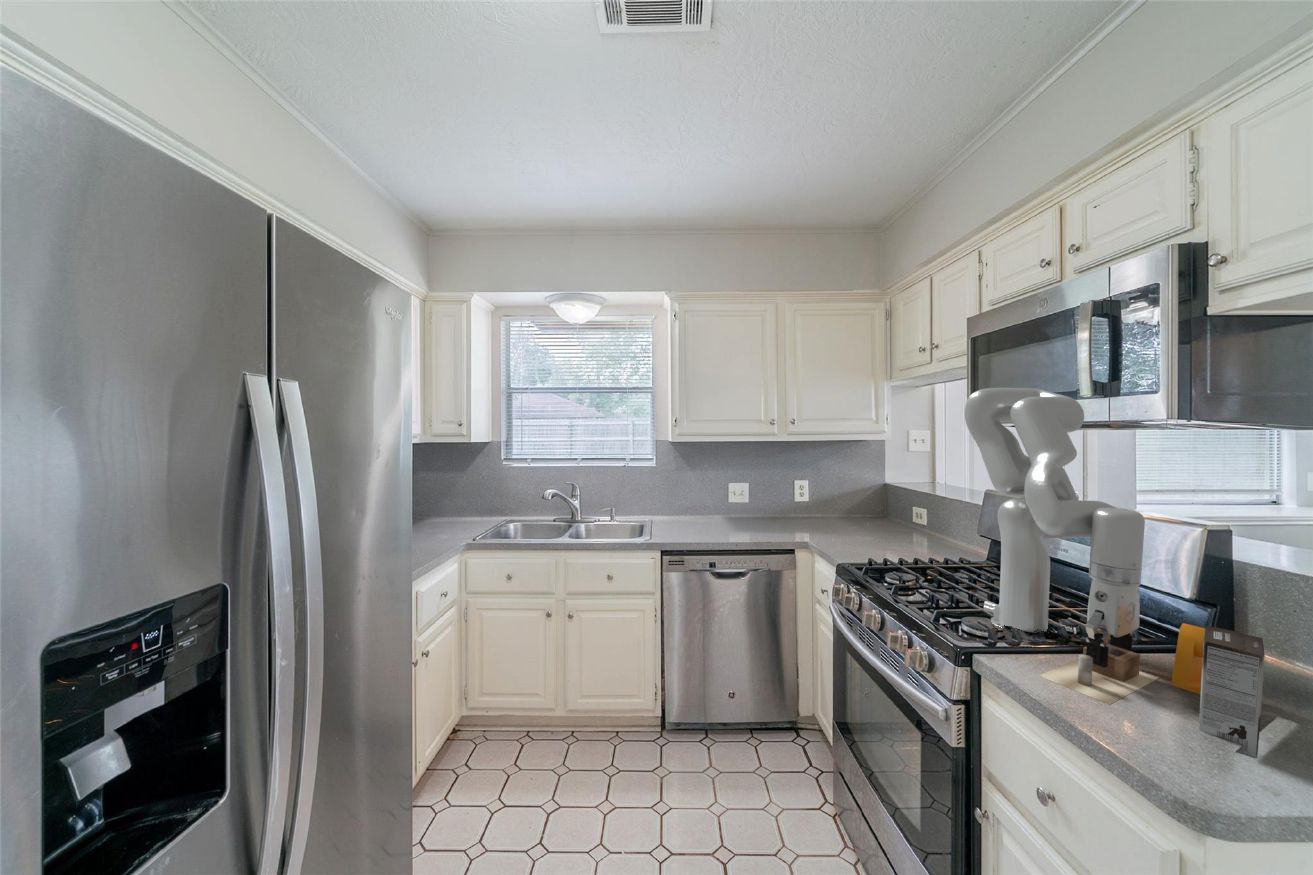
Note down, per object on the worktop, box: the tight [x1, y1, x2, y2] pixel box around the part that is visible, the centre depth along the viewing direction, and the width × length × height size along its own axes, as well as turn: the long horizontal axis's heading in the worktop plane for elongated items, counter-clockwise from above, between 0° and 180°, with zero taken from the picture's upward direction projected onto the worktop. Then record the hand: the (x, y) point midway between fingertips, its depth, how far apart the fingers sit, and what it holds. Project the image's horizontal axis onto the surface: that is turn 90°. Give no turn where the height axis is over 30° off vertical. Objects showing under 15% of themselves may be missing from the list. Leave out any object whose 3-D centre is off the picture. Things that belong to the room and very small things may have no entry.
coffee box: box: [1198, 625, 1266, 759], centre depth 82 cm, size 9×6×16 cm
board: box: [1038, 646, 1161, 706], centre depth 98 cm, size 11×20×6 cm, turn 118°
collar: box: [1082, 643, 1141, 682], centre depth 101 cm, size 6×6×4 cm
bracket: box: [1171, 622, 1205, 695], centre depth 95 cm, size 11×7×12 cm, turn 123°
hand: (1108, 658), depth 101 cm, fingers open, 9 cm apart
